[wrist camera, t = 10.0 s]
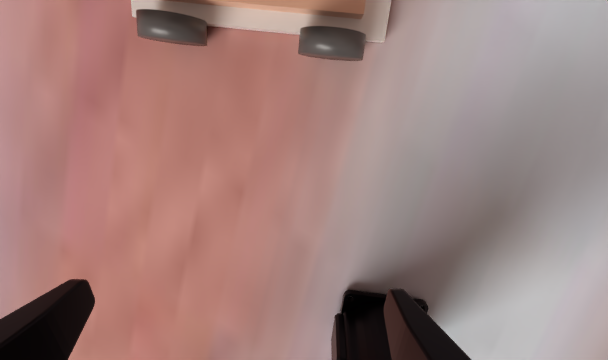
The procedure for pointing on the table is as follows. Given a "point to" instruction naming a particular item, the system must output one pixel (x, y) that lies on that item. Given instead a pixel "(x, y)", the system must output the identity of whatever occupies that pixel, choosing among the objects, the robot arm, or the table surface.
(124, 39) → the table surface
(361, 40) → the chassis
